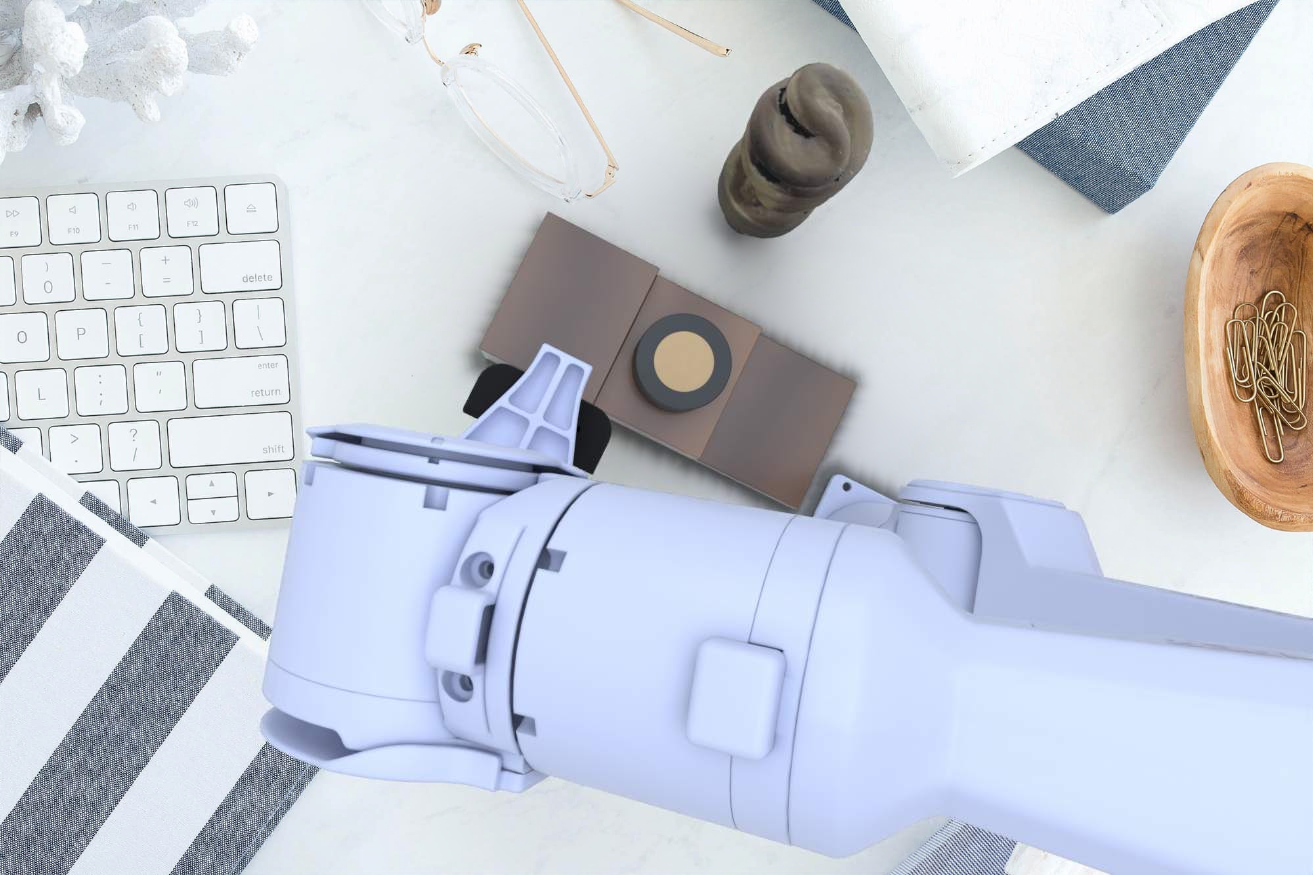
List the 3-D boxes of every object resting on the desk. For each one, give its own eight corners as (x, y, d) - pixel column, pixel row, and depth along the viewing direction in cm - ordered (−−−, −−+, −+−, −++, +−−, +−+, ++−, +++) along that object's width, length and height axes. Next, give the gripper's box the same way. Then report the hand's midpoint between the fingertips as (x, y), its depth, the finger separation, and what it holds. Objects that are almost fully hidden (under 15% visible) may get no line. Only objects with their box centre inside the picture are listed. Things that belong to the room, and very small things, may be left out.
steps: (849, 385, 54) (876, 378, 49) (791, 508, 53) (813, 513, 49) (548, 232, 52) (547, 210, 47) (485, 358, 51) (478, 348, 47)
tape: (738, 345, 50) (748, 340, 47) (698, 428, 49) (706, 426, 47) (656, 304, 49) (661, 296, 47) (615, 387, 49) (619, 383, 47)
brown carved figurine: (738, 145, 53) (809, 23, 38) (813, 202, 54) (913, 103, 39) (682, 223, 53) (733, 130, 38) (759, 279, 53) (839, 209, 38)
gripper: (454, 281, 28) (487, 337, 42) (237, 708, 27) (342, 625, 41) (657, 381, 29) (624, 406, 43) (452, 803, 28) (485, 691, 42)
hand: (495, 518), depth 42 cm, fingers open, 7 cm apart
